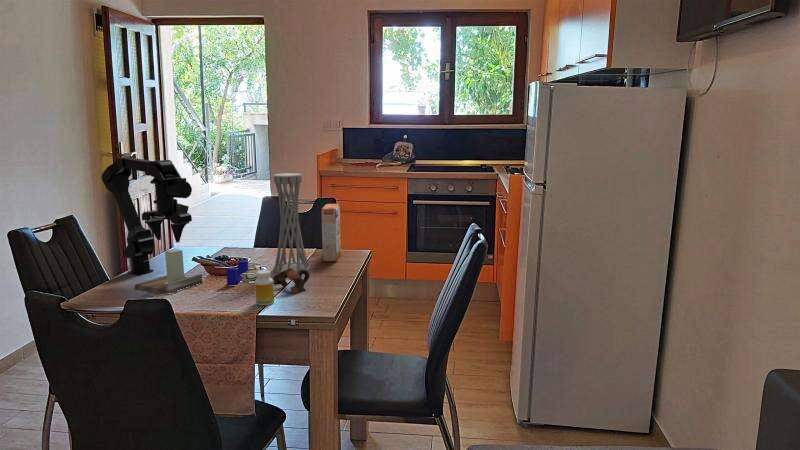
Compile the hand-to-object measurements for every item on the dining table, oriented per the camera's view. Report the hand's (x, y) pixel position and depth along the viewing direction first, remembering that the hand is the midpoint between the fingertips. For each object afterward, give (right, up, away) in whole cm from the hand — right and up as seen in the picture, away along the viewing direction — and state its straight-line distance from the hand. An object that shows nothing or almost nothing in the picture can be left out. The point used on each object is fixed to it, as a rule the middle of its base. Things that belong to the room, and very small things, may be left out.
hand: (168, 241), depth 207 cm
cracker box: (+54, -8, +29) cm, 62 cm away
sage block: (+7, -14, -10) cm, 18 cm away
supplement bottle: (+40, -18, -28) cm, 53 cm away
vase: (+41, -11, +11) cm, 44 cm away
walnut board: (+3, -15, -8) cm, 17 cm away
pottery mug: (+46, -16, -14) cm, 51 cm away
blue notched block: (+25, -14, -4) cm, 29 cm away
